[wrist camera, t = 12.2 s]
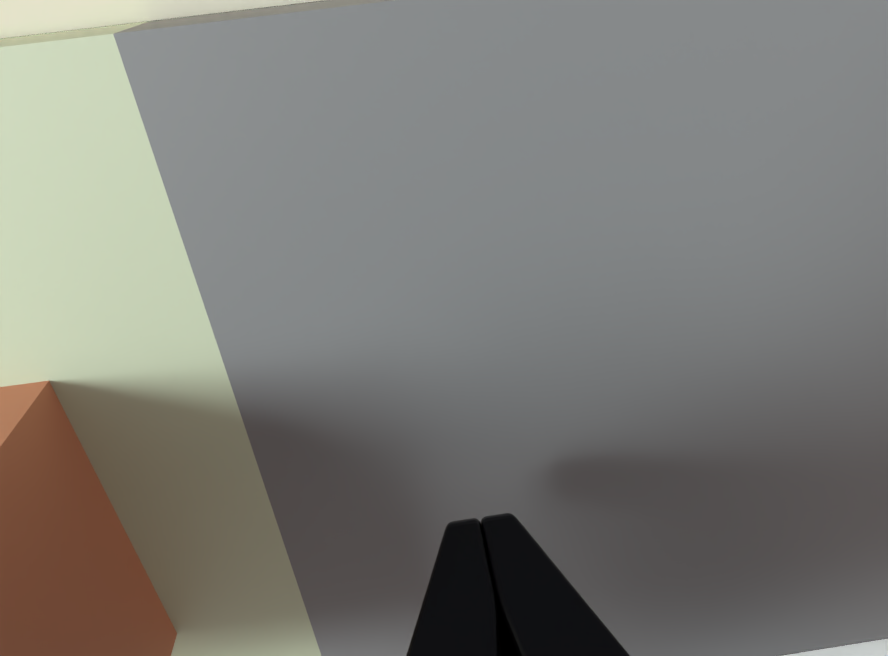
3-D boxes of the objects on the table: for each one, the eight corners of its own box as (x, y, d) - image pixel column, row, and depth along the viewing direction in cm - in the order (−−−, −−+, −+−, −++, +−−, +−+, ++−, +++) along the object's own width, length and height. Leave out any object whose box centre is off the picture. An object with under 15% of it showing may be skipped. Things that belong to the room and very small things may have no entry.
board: (1524, -142, 8) (1705, -155, 6) (1090, 548, 14) (1148, 596, 13) (-1043, 161, 6) (-1310, 202, 5) (-258, 759, 13) (-313, 830, 12)
